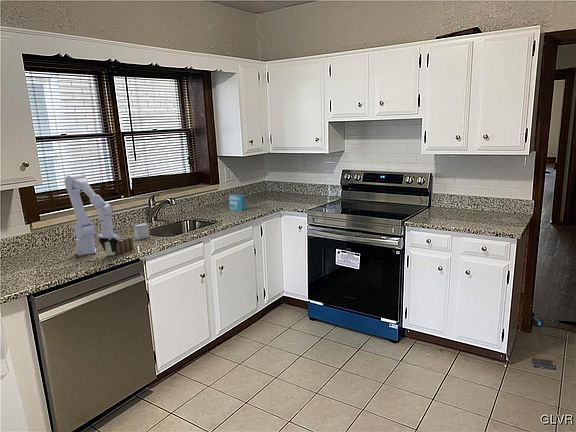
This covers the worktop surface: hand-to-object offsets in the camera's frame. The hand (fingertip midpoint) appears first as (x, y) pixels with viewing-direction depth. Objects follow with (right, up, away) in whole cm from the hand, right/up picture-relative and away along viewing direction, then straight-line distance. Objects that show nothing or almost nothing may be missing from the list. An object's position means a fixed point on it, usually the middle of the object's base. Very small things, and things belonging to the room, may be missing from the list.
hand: (110, 251), depth 238 cm
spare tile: (0, -2, 0) cm, 2 cm away
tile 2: (+4, 0, +10) cm, 11 cm away
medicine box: (+5, +5, +37) cm, 37 cm away
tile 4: (+1, -2, +4) cm, 4 cm away
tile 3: (+3, -1, +7) cm, 8 cm away
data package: (+56, +24, +115) cm, 131 cm away
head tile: (+6, 0, +13) cm, 15 cm away
